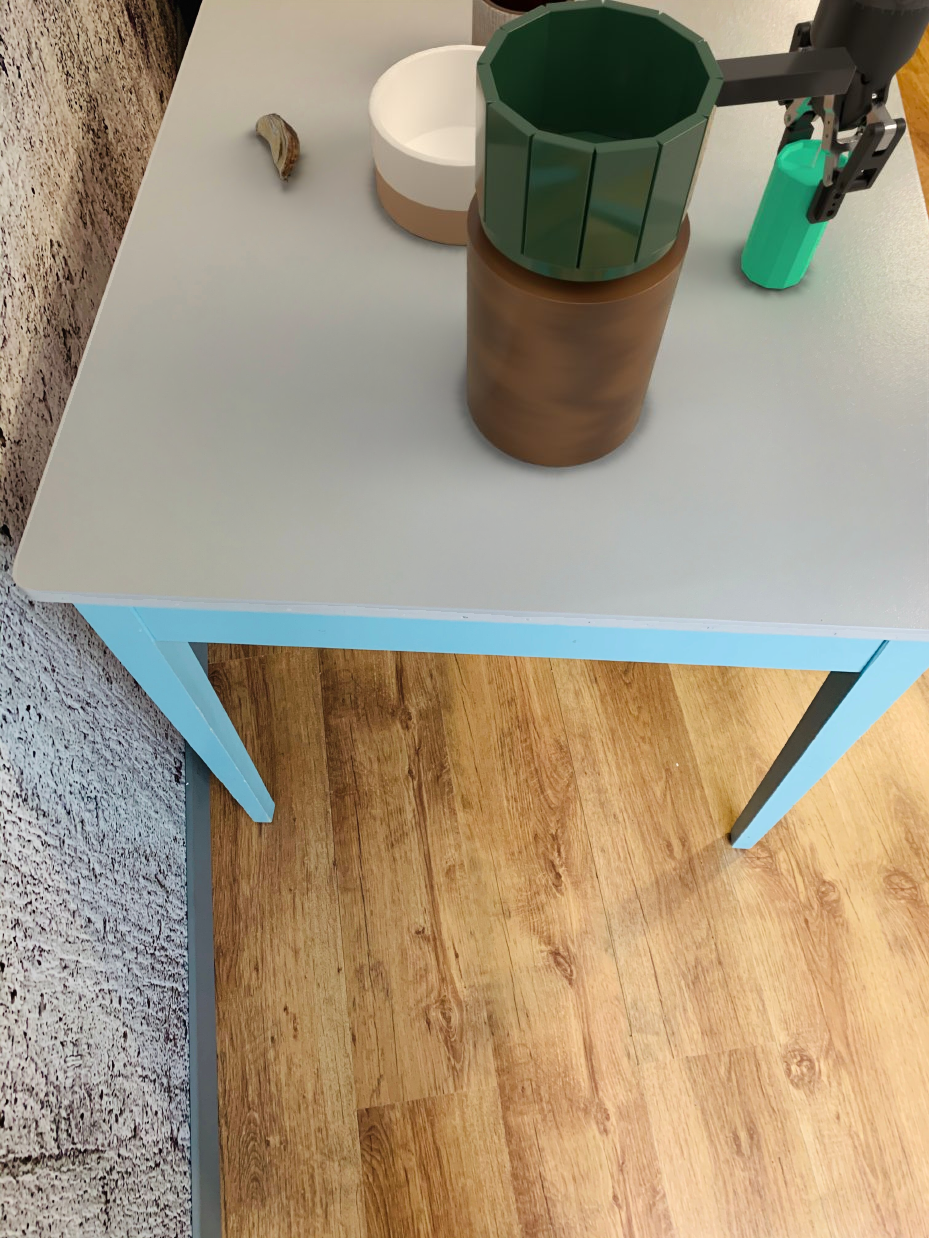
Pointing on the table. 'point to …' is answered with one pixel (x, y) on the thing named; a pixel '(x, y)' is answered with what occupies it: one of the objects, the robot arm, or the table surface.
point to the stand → (561, 352)
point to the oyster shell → (280, 142)
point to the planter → (499, 15)
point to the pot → (610, 130)
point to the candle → (786, 218)
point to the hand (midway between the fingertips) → (801, 193)
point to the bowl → (427, 141)
